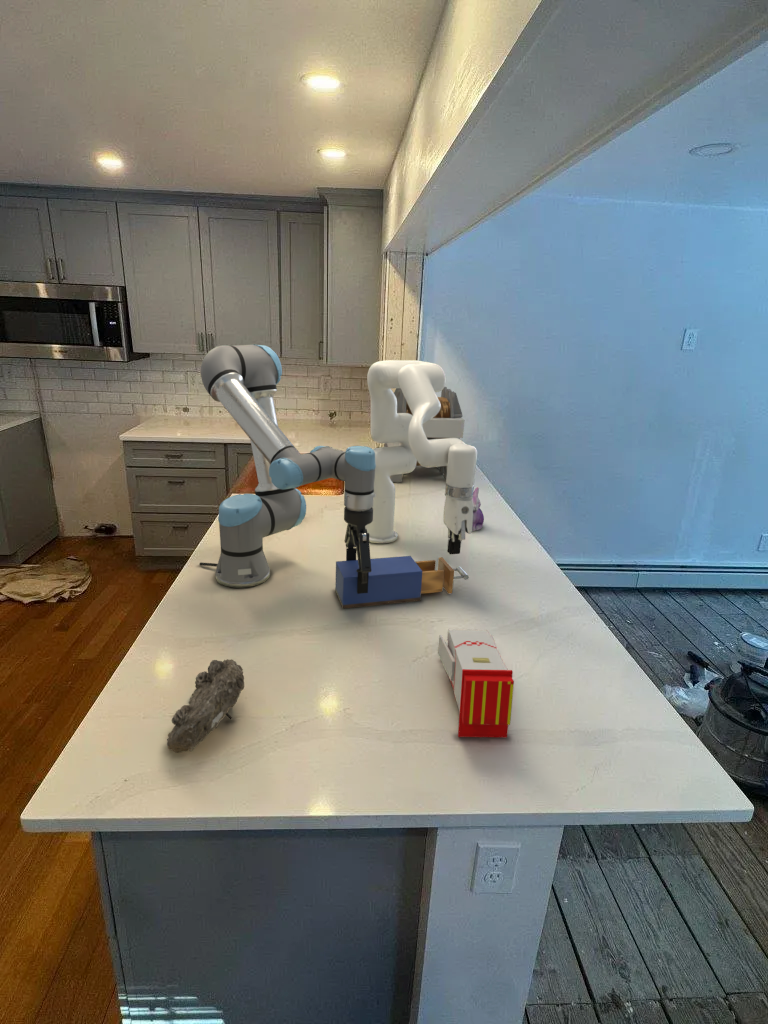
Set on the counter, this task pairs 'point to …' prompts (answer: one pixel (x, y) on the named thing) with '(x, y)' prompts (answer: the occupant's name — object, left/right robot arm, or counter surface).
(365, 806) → the counter surface
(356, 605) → the cabinet
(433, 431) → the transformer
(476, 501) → the figurine
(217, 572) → the left robot arm
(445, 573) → the drawer
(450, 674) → the toy
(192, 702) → the fossil
